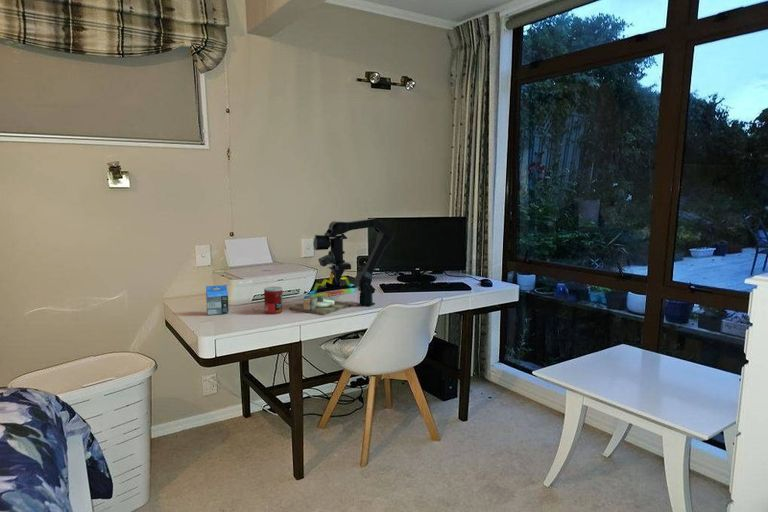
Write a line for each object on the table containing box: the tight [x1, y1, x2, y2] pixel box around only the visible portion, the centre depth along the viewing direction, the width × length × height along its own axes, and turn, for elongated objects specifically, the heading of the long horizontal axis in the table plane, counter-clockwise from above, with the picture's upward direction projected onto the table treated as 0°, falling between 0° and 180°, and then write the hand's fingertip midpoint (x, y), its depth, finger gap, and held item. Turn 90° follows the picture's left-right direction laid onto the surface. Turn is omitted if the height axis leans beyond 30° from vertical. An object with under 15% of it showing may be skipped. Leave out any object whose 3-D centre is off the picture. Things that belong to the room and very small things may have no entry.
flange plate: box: [302, 296, 335, 310], centre depth 221 cm, size 18×13×4 cm
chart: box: [303, 269, 356, 299], centre depth 248 cm, size 30×3×15 cm, turn 133°
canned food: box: [263, 286, 284, 315], centre depth 214 cm, size 8×8×11 cm
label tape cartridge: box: [205, 284, 230, 316], centre depth 211 cm, size 9×4×12 cm, turn 114°
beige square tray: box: [288, 299, 351, 316], centre depth 224 cm, size 20×20×6 cm
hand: (337, 282), depth 222 cm, fingers closed
